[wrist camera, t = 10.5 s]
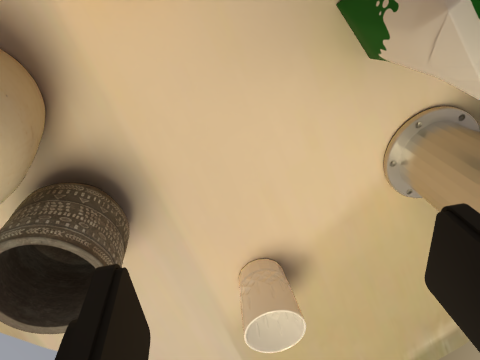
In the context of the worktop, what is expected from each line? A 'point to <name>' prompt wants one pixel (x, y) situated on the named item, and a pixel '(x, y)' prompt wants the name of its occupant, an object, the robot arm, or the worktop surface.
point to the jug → (18, 123)
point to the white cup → (269, 308)
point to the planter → (57, 254)
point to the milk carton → (422, 36)
